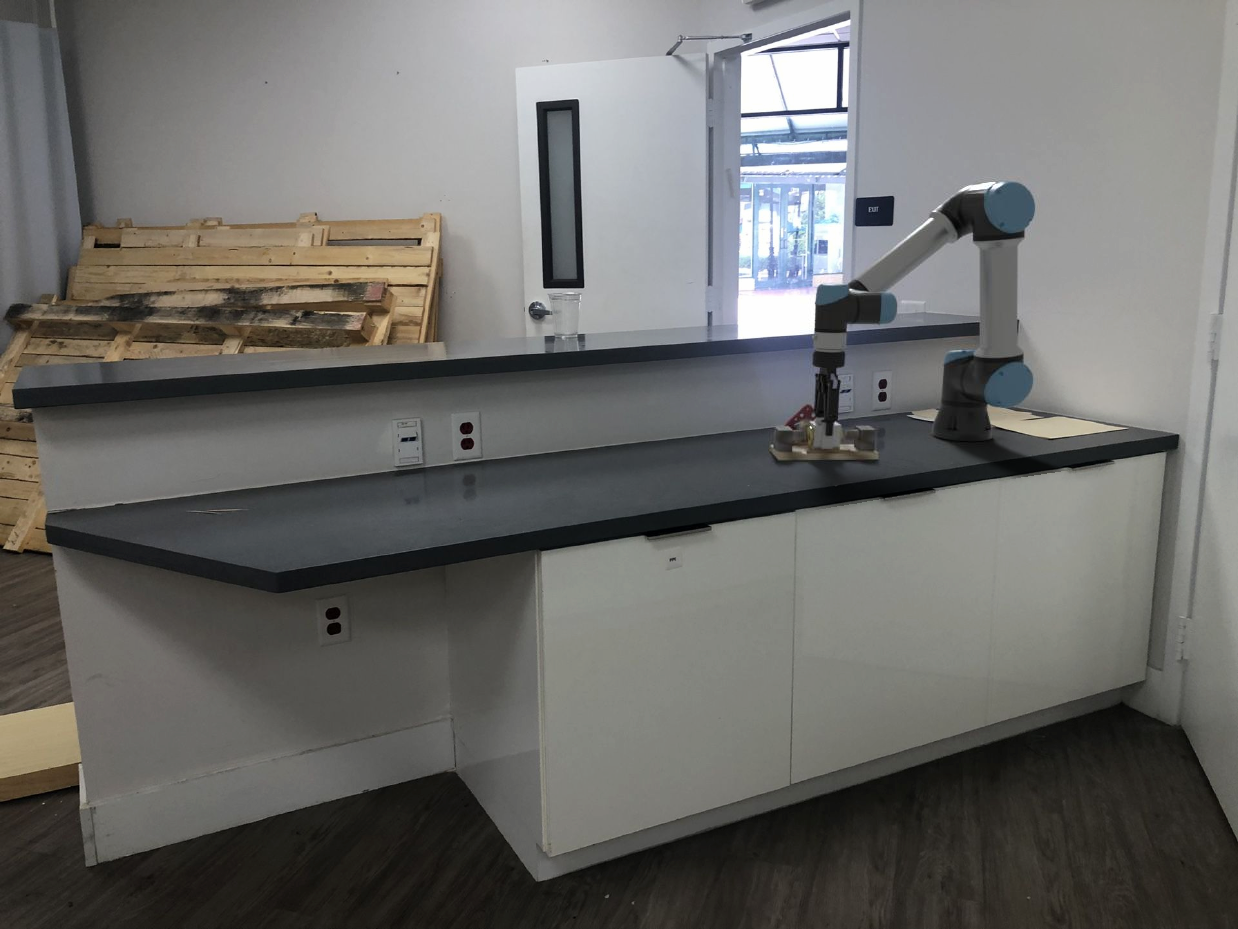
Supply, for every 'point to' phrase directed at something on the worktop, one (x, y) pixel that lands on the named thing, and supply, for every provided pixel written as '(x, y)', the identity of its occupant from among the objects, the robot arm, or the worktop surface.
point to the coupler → (816, 436)
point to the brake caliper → (804, 424)
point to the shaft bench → (802, 451)
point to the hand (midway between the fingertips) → (823, 446)
